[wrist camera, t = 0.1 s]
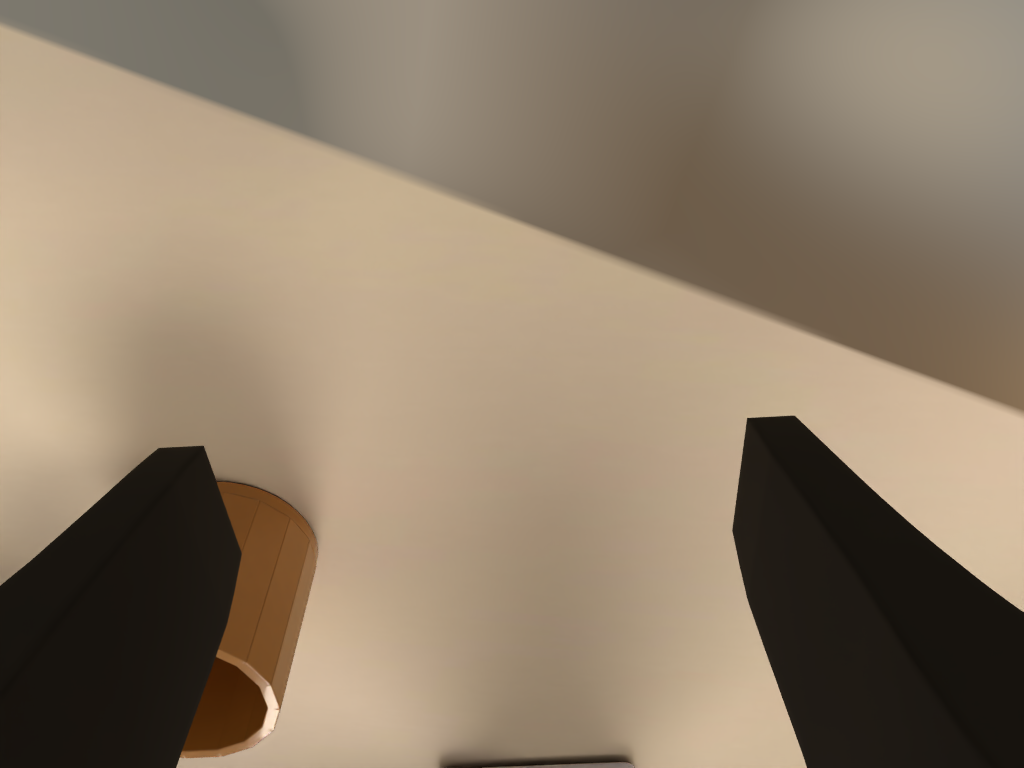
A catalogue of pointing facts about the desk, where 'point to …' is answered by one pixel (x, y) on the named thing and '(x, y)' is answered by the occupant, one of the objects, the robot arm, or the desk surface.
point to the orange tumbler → (256, 624)
